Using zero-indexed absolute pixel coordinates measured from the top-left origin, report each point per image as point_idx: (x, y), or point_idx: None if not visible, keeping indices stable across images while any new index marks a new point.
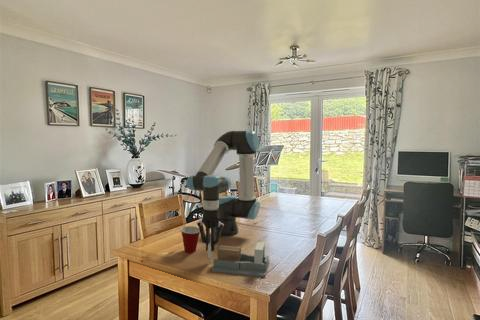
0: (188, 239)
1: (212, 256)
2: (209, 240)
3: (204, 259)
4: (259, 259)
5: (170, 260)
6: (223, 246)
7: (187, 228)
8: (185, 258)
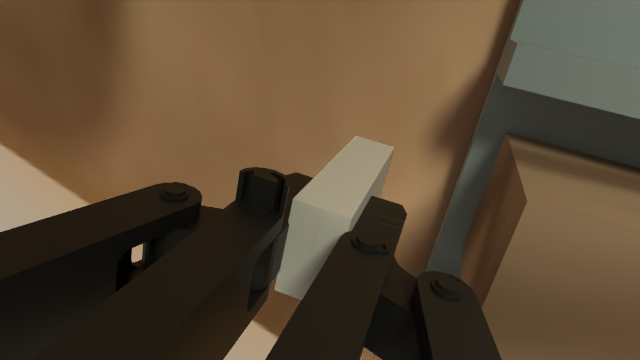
0: None
1: (393, 150)
2: (266, 249)
3: (308, 48)
4: None
5: (22, 81)
6: (584, 267)
7: None
8: (119, 28)
